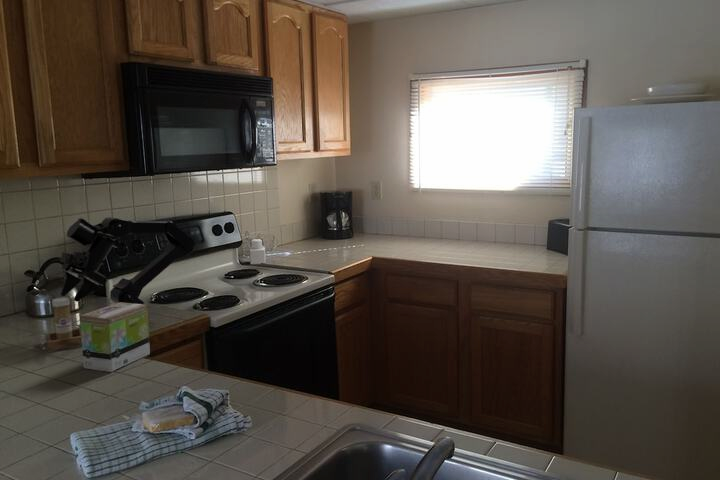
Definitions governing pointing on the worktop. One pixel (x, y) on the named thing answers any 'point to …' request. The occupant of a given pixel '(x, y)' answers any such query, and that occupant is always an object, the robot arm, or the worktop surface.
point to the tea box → (114, 336)
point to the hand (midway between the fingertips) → (68, 298)
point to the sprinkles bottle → (62, 318)
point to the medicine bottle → (257, 251)
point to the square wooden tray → (63, 341)
